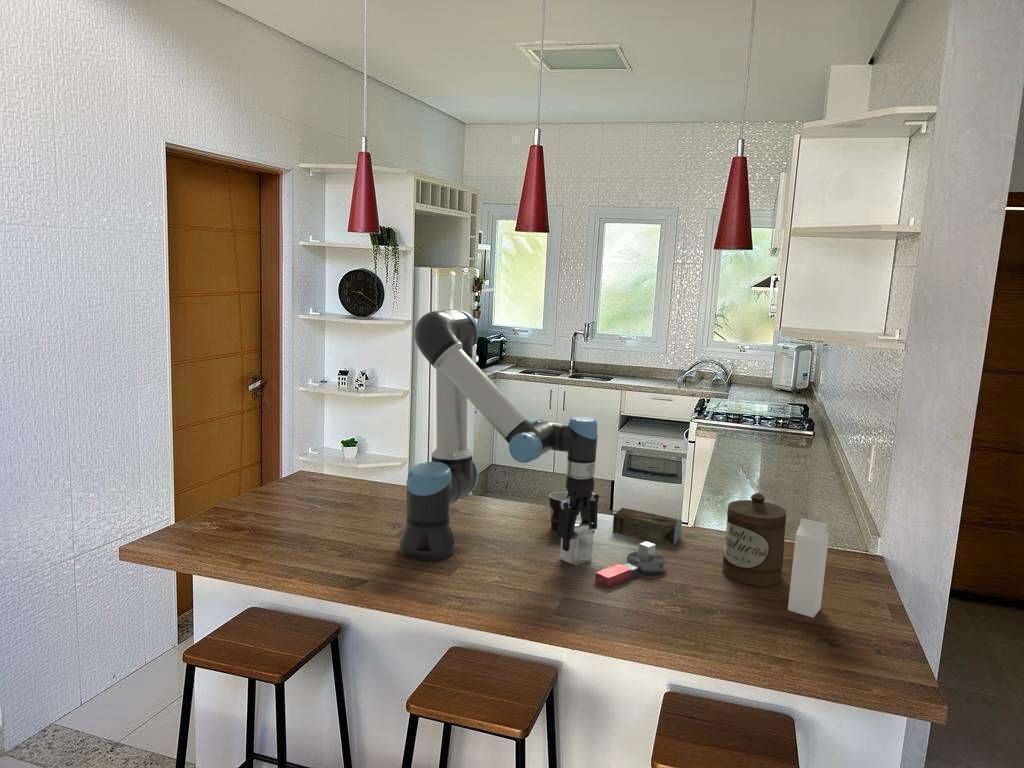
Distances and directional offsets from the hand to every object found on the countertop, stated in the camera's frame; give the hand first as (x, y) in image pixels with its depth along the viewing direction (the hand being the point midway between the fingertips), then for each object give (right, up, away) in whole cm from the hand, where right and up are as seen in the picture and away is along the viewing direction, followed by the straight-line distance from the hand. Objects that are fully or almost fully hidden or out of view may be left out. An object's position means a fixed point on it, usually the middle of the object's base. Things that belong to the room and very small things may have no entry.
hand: (575, 558), depth 205 cm
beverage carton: (+23, +2, +21) cm, 31 cm away
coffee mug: (-2, +4, +25) cm, 26 cm away
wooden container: (+46, -3, -5) cm, 46 cm away
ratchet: (+13, -2, -8) cm, 16 cm away
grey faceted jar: (0, 0, 0) cm, 0 cm away
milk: (+52, -7, -25) cm, 58 cm away
